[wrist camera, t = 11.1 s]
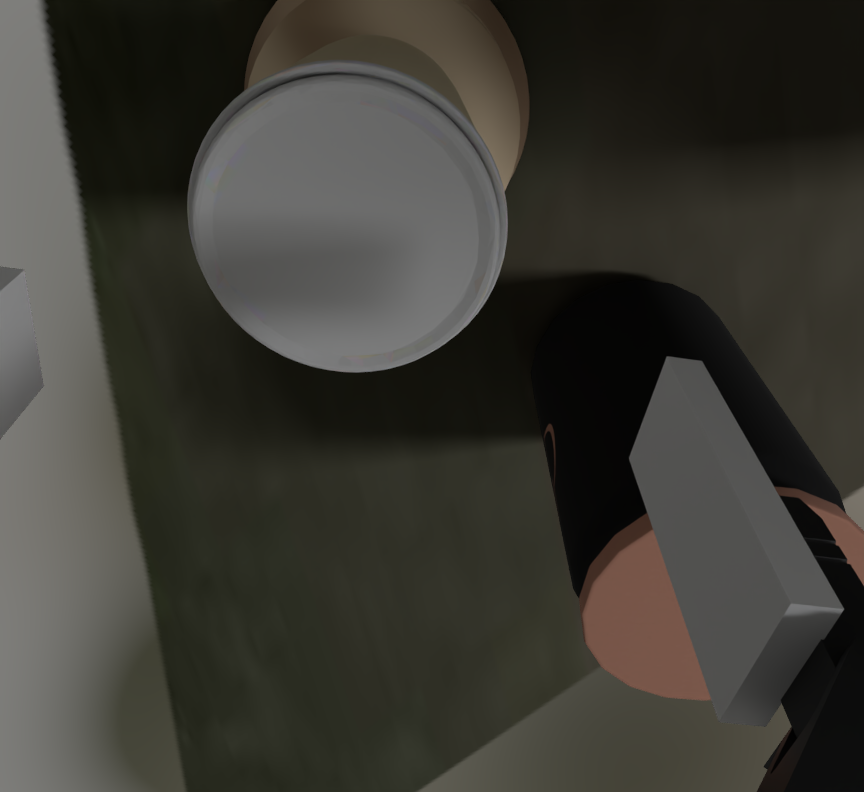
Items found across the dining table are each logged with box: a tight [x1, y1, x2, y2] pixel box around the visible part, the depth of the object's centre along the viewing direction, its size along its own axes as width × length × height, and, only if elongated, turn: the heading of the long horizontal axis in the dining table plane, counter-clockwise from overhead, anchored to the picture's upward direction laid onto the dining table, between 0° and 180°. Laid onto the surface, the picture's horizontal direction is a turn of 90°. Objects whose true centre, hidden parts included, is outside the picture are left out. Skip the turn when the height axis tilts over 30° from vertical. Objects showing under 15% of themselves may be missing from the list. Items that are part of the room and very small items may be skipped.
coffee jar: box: [531, 280, 864, 700], centre depth 34 cm, size 11×11×18 cm
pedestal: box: [244, 0, 529, 191], centre depth 33 cm, size 13×13×4 cm
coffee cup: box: [187, 35, 508, 372], centre depth 26 cm, size 9×9×12 cm
